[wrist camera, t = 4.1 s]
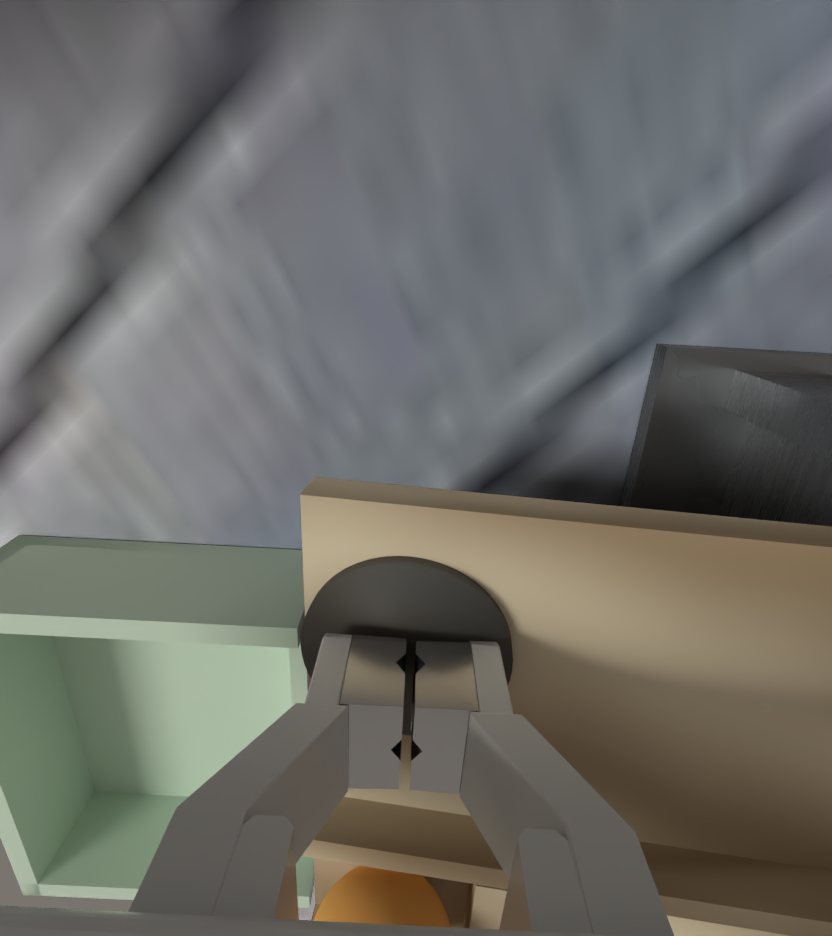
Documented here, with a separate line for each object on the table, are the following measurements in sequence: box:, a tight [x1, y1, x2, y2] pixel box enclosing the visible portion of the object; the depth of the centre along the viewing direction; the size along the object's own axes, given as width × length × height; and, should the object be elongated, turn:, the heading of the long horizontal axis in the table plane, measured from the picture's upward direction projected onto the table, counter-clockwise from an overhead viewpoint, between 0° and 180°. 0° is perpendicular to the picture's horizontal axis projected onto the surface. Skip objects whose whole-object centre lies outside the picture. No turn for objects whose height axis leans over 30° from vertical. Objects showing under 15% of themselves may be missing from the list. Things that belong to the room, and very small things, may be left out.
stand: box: [620, 344, 832, 527], centre depth 12 cm, size 17×6×8 cm, turn 177°
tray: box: [0, 535, 315, 908], centre depth 16 cm, size 11×9×4 cm
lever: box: [300, 477, 832, 936], centre depth 9 cm, size 12×19×5 cm, turn 87°
